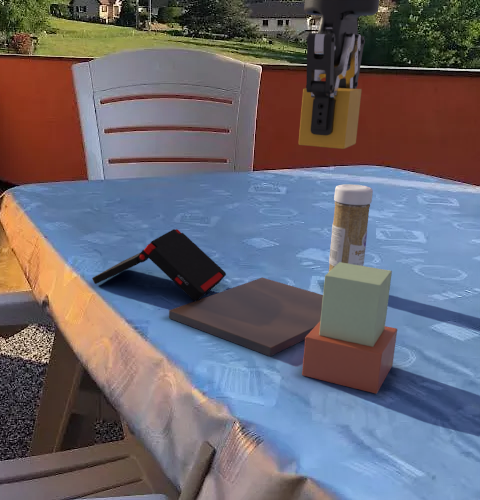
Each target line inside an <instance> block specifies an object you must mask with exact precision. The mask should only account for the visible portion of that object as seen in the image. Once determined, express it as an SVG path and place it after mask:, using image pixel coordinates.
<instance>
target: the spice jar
mask: <svg viewBox="0 0 480 500" xmlns="http://www.w3.org/2000/svg"><path fill="white" fill-rule="evenodd" d="M373 193H374V190H373V188H372V187H370V186H367V185H361V184H338V185H336V186H335V189H334V196H333V200H334V211H333V221H332V225H331V226H332V227H331V239H330V247H329V257H328V262H329V266H328V272H329V271H331V270H332V269H333V268H334V267H335V266H336V265H337V264H338V263H339V262H342V263H348V264H354V265H360V266H365V258H366V257H365V256H366V249H367V248H366V247H367V239H368V238H367V237H368V223H369V216H370V215H369V214H370V207H371V204H372V202H373Z"/></svg>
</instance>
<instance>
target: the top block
mask: <svg viewBox="0 0 480 500" xmlns="http://www.w3.org/2000/svg"><path fill="white" fill-rule="evenodd" d="M361 98H362V88H356V89H351V88H338V94H337V97H336V99H332V100H336V103H335V113H334V123H333V132H332V133H331V134H330V135H315V134H312V133H311V120H312V109H313V99H315V98H312V97H311V92H307V90H306V87H305V88H303V89H302V98H301V99H302V100H301V111H300V122H299V133H298V135H299V136H298V145H299V146H308V147H317V148H330V149H338V150H339V149H341V150H344V149H347V148H349V147H352V146H354V145H356V144H357V137H358V126H359V119H360V118H359V117H360V108H361Z"/></svg>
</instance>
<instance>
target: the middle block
mask: <svg viewBox="0 0 480 500" xmlns="http://www.w3.org/2000/svg"><path fill="white" fill-rule="evenodd" d="M392 273H393V271H392V270H389V269H383V268H378V267H371V266H365V265H363V266H360V265H354V264H348V263H342V262H339V263H338V264H337V265H336V266H335V267H334V268H333V269H332V270H331V271H329V270H328V272H327V273H326V274H325V275H324V282H323V291H322V292H323V293H322V295H323V301H322V311H321V321H320V331H319V335H320V336H325V337H329V338H334V339H338V340H343V341H348V342H352V343H357V344H361V345H366V346H370V347H373V346H374V344H375V343H376V341H377V340H378V338H379V337H380V335H381V334H382V332H383V331H384V329H385V326H386V321H387V313H388V306H389V298H390V292H391V291H390V290H391V281H392V275H393V274H392Z"/></svg>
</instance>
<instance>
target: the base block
mask: <svg viewBox="0 0 480 500" xmlns="http://www.w3.org/2000/svg"><path fill="white" fill-rule="evenodd" d="M319 331H320V322H319V323H318V324H317V325H316V326H315V327H314V328H313V330H312V331H311V332H310V333H309V334H308V335H307V336H306V337H305V340H304V348H303V349H304V350H303V359H302V371H301V375H302V376H304V377H307V378H312V379H315V380H319V381H324V382H327V383H331V384H336V385H340V386H343V387H348V388H351V389H355V390H359V391H364V392H367V393H371V394H375V395H376V394H378V393H379V391H380V389H381V387H382V385H383V383H384V382H385V380H386V378H387V377H388V374H389V373H390V371H391V369H392V367H393V365H394V358H395V351H396V349H395V348H396V343H397V334H398V328H395V327H392V326H387V325H385V329H384V331H383V332H382V334H381V335H380V337H379V338H378V340H377V341H376V343H375V344H374V346H373V347H370V346H366V345H361V344H357V343H352V342H348V341H343V340H338V339H334V338H329V337H325V336H320V335H319Z"/></svg>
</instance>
